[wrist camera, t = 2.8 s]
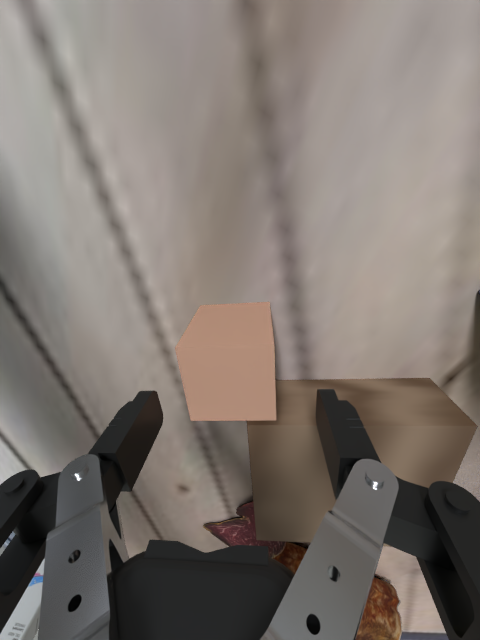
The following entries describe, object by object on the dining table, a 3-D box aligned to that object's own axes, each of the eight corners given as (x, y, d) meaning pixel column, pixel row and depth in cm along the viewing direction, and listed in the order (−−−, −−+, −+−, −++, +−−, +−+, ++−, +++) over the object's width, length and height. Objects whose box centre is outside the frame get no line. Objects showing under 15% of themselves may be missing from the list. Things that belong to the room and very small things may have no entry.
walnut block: (256, 483, 27) (256, 540, 22) (249, 377, 21) (247, 425, 16) (393, 486, 25) (423, 548, 21) (426, 375, 19) (477, 426, 15)
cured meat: (251, 479, 26) (247, 565, 20) (418, 561, 30) (457, 652, 24) (176, 541, 33) (157, 618, 27) (320, 600, 38) (331, 678, 32)
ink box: (50, 506, 31) (-61, 667, 20) (90, 517, 31) (1, 680, 20) (46, 538, 34) (-51, 689, 23) (81, 548, 35) (2, 701, 24)
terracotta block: (209, 362, 20) (190, 420, 15) (200, 305, 18) (175, 347, 12) (271, 360, 19) (276, 420, 14) (269, 301, 17) (274, 344, 12)
